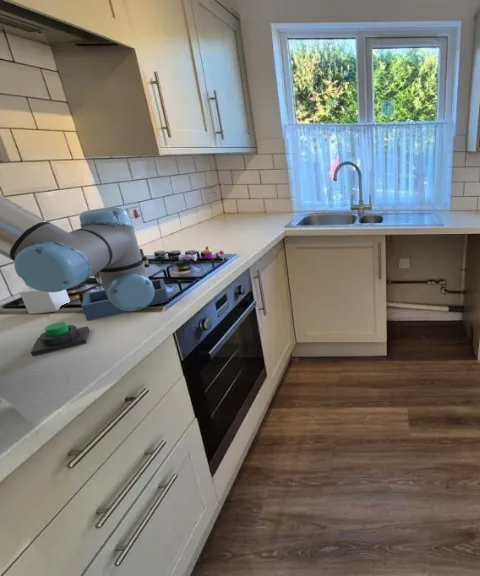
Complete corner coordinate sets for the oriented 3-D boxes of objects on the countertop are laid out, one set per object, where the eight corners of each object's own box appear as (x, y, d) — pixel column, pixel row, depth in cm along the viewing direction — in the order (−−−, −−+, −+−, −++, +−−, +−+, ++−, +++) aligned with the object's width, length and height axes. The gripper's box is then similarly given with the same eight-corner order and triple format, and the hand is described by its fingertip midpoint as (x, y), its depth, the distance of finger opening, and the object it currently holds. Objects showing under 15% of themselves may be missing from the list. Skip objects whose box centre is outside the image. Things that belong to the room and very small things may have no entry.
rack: (87, 321, 99) (81, 306, 97) (90, 307, 107) (84, 293, 105) (169, 302, 109) (165, 288, 107) (166, 291, 117) (162, 278, 115)
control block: (32, 356, 83) (27, 345, 82) (39, 341, 89) (34, 331, 88) (86, 343, 88) (82, 332, 87) (89, 330, 94) (85, 319, 93)
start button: (46, 339, 85) (43, 331, 84) (49, 332, 88) (46, 325, 88) (68, 334, 87) (65, 326, 86) (70, 327, 90) (67, 320, 90)
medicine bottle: (45, 304, 110) (29, 267, 106) (71, 301, 111) (56, 265, 107) (28, 314, 104) (10, 275, 99) (56, 312, 105) (40, 273, 100)
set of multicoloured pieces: (177, 264, 142) (173, 249, 139) (185, 258, 149) (181, 244, 146) (225, 261, 144) (222, 246, 141) (230, 255, 151) (227, 241, 149)
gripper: (67, 304, 75) (60, 277, 91) (174, 278, 87) (152, 258, 103) (53, 271, 72) (49, 248, 88) (166, 249, 85) (145, 232, 100)
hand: (105, 253), depth 95 cm, fingers closed on can, 7 cm apart
